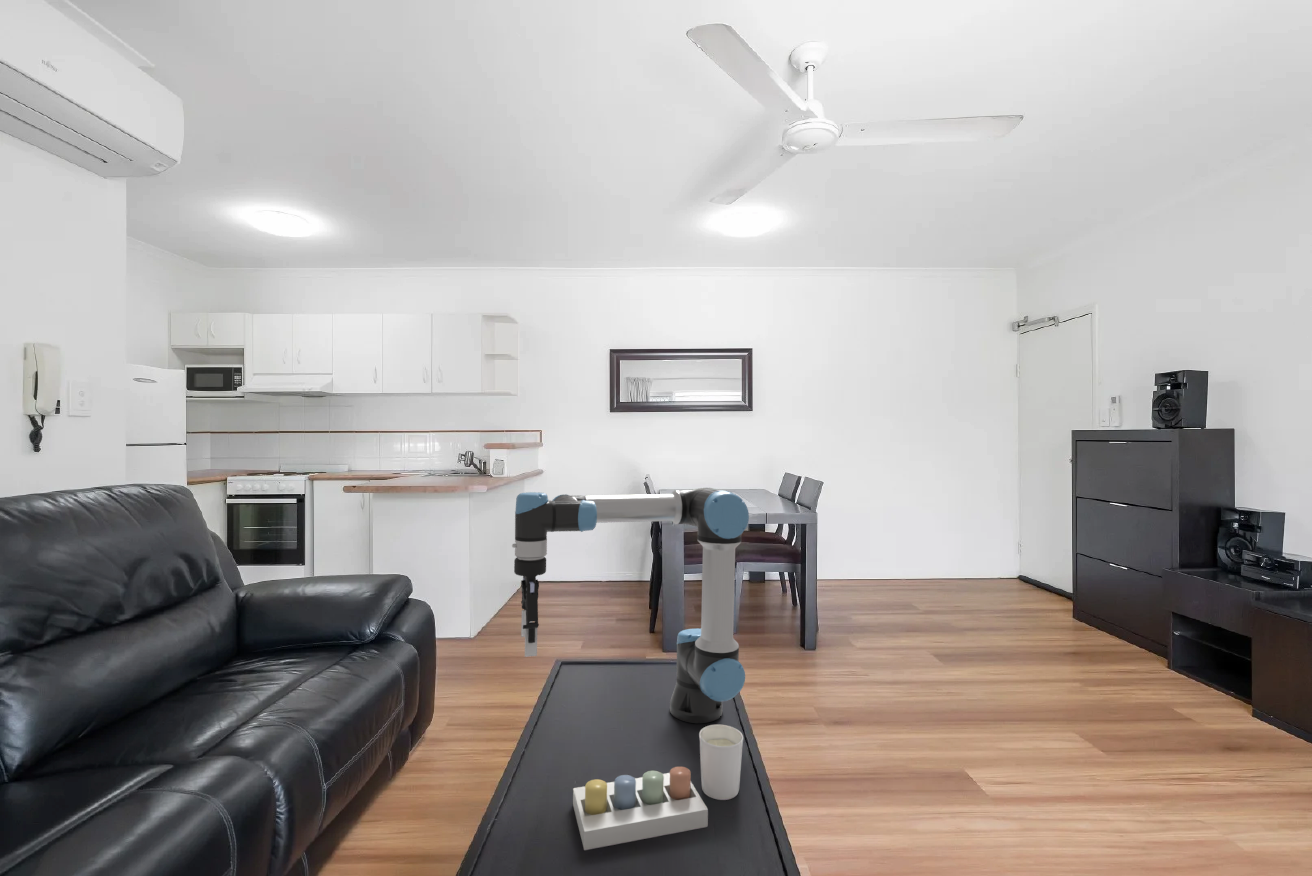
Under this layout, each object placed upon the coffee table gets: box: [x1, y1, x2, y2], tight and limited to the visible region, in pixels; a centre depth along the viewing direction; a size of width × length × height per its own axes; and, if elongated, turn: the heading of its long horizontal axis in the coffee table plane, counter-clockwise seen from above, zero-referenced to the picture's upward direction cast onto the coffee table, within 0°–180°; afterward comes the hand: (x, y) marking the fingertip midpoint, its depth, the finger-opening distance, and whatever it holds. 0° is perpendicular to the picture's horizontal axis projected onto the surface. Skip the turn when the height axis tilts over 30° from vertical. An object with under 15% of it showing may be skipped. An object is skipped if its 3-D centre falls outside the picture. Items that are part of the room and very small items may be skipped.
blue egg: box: [613, 774, 636, 810], centre depth 117 cm, size 4×4×4 cm
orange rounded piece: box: [669, 766, 692, 800], centre depth 120 cm, size 4×4×4 cm
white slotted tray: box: [572, 772, 709, 851], centre depth 118 cm, size 25×14×4 cm, turn 107°
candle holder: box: [698, 723, 744, 801], centre depth 127 cm, size 10×10×12 cm
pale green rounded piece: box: [642, 770, 664, 805], centre depth 119 cm, size 4×4×4 cm
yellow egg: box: [585, 778, 608, 815], centre depth 115 cm, size 4×4×4 cm
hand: (528, 645), depth 137 cm, fingers open, 13 cm apart
